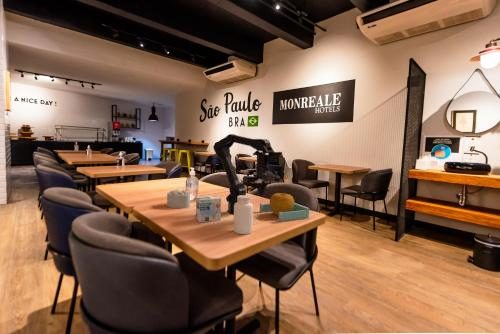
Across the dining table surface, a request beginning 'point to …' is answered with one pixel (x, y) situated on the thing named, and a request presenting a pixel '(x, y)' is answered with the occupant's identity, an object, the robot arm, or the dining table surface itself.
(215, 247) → the dining table surface
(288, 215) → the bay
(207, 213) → the light bulb box
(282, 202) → the apple
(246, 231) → the pill bottle
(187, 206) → the lumpy-topped squat cylinder
